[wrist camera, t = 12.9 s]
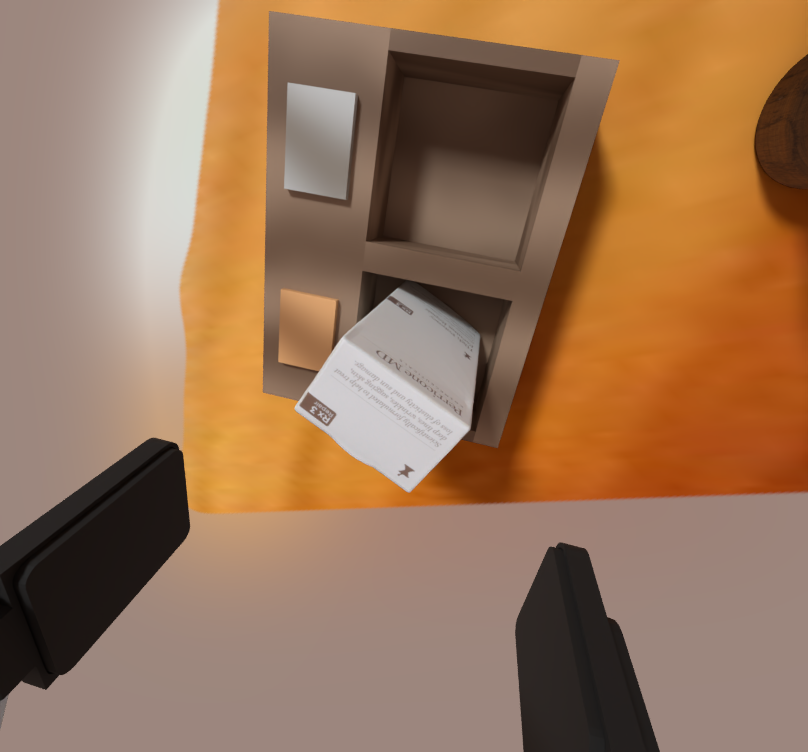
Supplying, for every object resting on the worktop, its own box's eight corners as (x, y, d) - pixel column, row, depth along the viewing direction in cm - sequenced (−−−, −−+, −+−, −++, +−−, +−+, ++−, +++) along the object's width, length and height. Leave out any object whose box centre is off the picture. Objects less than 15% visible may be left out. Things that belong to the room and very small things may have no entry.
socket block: (312, 50, 22) (264, 7, 17) (589, 91, 21) (622, 57, 16) (295, 363, 30) (259, 395, 25) (494, 409, 29) (497, 451, 24)
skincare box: (483, 332, 25) (485, 429, 15) (441, 382, 27) (414, 501, 16) (405, 273, 25) (345, 328, 14) (367, 328, 27) (288, 414, 16)
